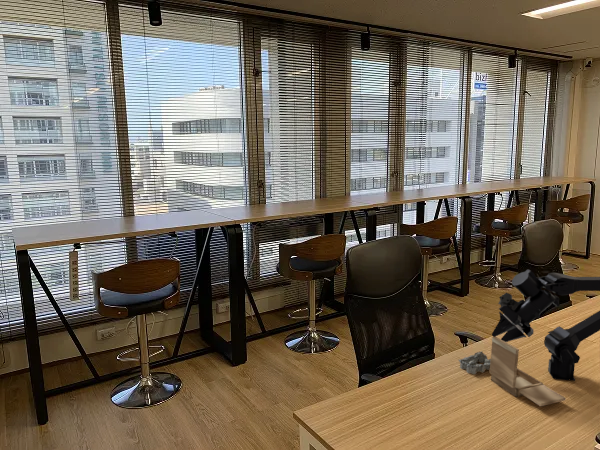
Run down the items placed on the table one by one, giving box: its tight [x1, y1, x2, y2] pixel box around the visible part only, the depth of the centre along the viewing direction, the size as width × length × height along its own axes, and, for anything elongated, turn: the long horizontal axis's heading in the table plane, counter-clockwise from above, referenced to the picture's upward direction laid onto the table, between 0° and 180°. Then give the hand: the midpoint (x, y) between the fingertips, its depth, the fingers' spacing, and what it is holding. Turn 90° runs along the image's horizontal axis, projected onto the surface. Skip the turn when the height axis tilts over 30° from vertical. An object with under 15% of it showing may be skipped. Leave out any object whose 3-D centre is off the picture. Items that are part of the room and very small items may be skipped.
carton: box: [490, 367, 566, 407], centre depth 145 cm, size 10×20×2 cm, turn 18°
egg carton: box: [458, 350, 491, 375], centre depth 161 cm, size 11×8×4 cm
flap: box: [488, 336, 520, 388], centre depth 146 cm, size 1×10×12 cm, turn 18°
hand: (496, 338), depth 153 cm, fingers open, 8 cm apart
